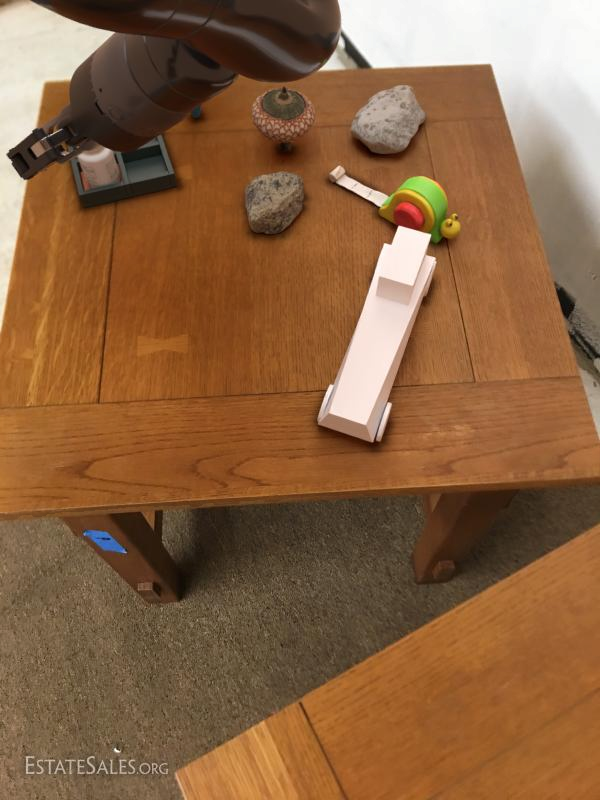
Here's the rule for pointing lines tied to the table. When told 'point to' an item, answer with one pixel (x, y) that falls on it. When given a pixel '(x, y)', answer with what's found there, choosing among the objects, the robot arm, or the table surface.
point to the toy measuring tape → (409, 205)
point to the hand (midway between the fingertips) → (55, 149)
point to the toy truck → (380, 338)
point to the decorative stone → (388, 120)
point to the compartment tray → (129, 174)
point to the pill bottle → (99, 167)
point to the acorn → (283, 116)
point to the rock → (273, 201)
